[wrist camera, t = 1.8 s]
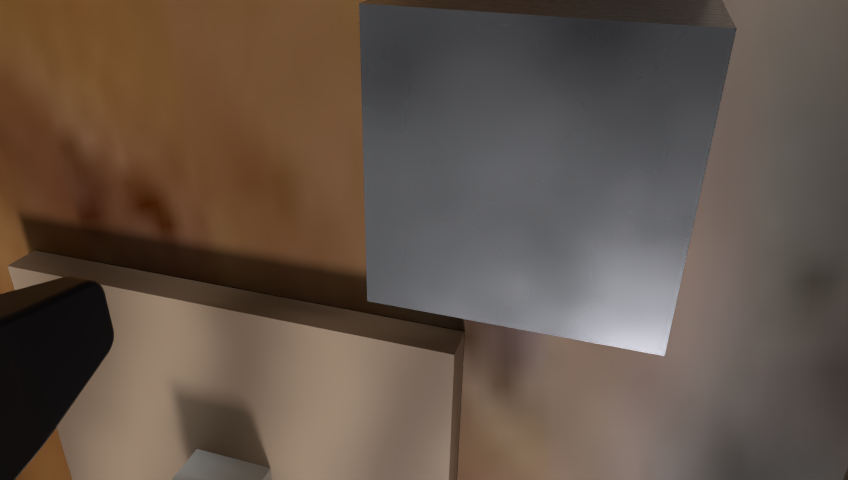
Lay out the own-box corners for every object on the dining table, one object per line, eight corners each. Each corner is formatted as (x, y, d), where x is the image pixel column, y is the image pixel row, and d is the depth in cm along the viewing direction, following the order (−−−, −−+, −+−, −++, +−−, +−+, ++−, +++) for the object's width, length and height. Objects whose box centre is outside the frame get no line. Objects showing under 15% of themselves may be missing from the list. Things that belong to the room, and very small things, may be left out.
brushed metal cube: (715, -13, 15) (736, 28, 11) (664, 243, 18) (664, 355, 13) (438, -27, 16) (359, 3, 12) (432, 209, 19) (367, 301, 15)
